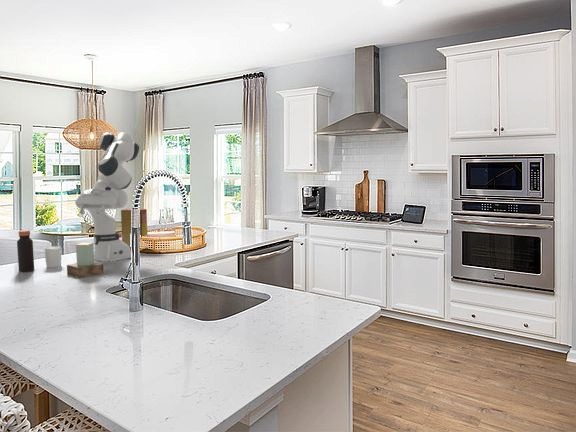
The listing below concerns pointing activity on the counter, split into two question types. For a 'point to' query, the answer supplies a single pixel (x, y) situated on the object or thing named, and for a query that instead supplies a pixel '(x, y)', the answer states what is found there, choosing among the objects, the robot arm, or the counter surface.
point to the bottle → (25, 252)
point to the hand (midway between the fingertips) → (89, 213)
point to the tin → (85, 254)
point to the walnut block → (85, 270)
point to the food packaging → (127, 224)
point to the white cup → (53, 256)
